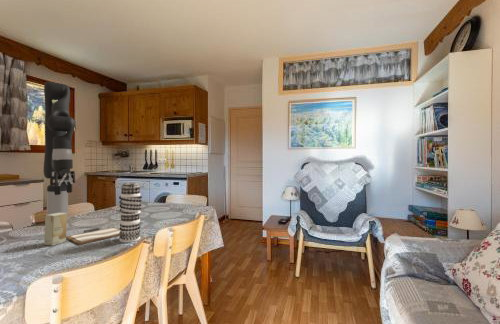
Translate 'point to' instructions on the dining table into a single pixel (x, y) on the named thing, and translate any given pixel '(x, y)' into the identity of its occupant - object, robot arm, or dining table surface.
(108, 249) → the dining table surface
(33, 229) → the dining table surface
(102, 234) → the clipboard
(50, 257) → the dining table surface
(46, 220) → the skincare box
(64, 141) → the robot arm
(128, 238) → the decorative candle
